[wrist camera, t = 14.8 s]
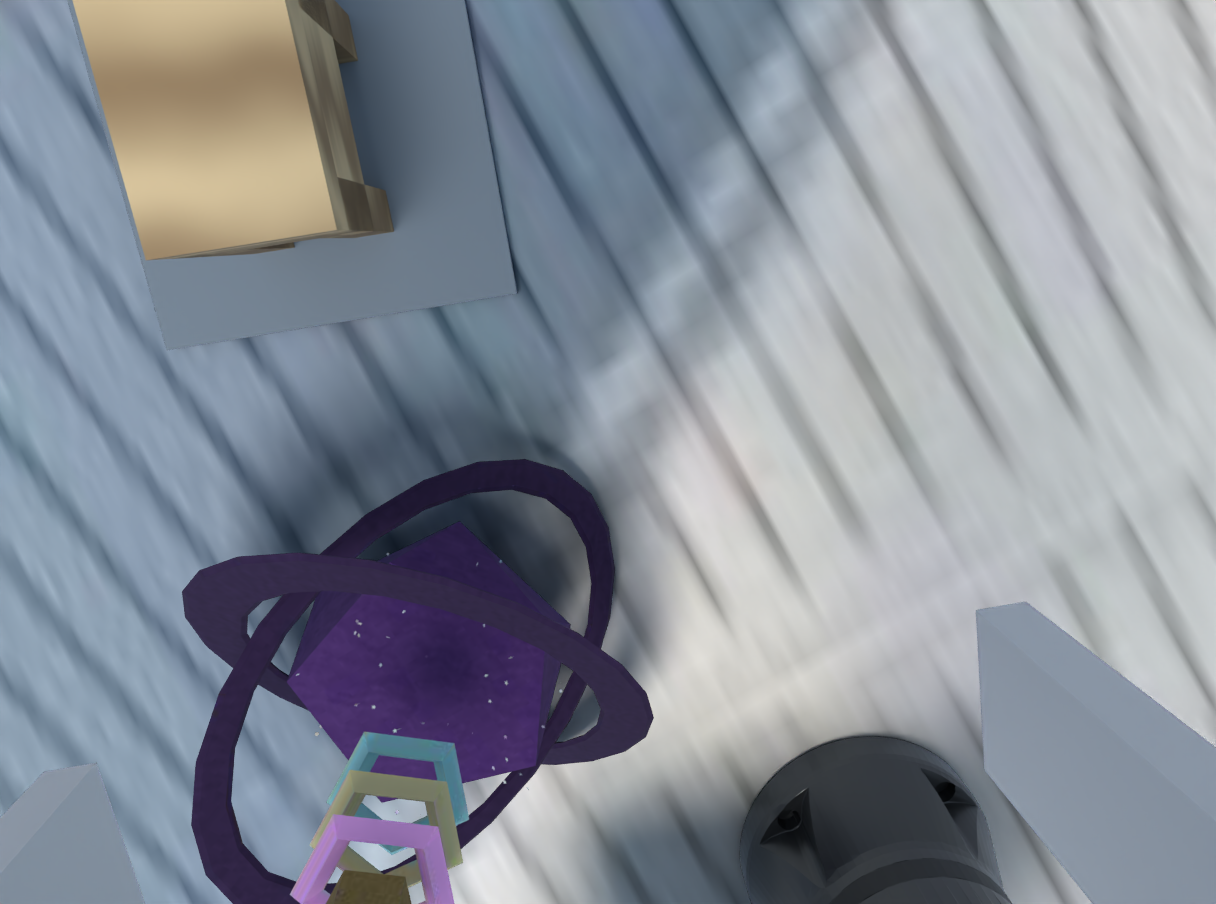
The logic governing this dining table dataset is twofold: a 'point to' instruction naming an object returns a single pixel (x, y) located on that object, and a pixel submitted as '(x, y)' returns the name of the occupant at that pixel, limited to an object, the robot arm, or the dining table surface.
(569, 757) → the ringed planet sculpture
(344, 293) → the slate mat
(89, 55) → the notched wooden block
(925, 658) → the dining table surface
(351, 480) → the dining table surface
